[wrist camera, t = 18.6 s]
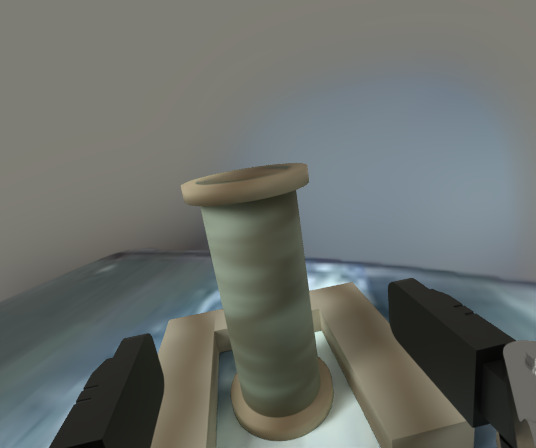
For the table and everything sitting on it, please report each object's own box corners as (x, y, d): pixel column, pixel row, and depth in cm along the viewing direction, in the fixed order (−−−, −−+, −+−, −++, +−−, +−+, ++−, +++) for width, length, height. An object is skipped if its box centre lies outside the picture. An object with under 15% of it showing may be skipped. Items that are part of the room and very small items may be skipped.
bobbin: (234, 454, 16) (170, 195, 12) (231, 367, 22) (188, 178, 18) (350, 424, 16) (324, 168, 13) (315, 348, 22) (291, 160, 19)
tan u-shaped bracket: (119, 545, 13) (105, 513, 12) (174, 339, 26) (169, 319, 26) (473, 451, 14) (474, 418, 14) (353, 301, 28) (352, 282, 27)
